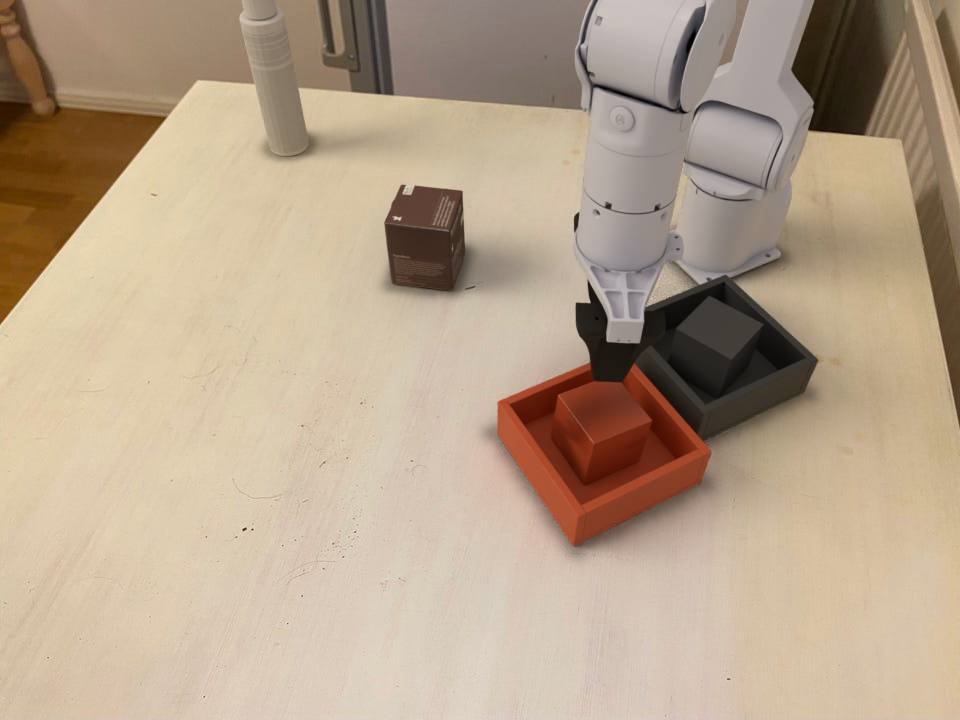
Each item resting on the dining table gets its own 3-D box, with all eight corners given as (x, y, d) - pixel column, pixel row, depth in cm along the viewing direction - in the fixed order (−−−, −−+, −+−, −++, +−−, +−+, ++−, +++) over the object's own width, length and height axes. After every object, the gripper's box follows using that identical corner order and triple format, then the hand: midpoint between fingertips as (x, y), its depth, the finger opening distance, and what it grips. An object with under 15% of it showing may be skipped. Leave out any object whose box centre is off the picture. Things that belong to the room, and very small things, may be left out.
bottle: (312, 135, 93) (278, -46, 78) (303, 157, 90) (266, -27, 75) (275, 133, 93) (234, -48, 78) (265, 155, 90) (220, -28, 75)
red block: (550, 436, 63) (557, 394, 60) (604, 415, 65) (614, 373, 61) (584, 484, 60) (594, 443, 57) (639, 461, 62) (652, 420, 58)
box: (452, 293, 75) (449, 231, 70) (389, 285, 76) (382, 223, 71) (466, 251, 79) (464, 189, 74) (406, 243, 80) (400, 182, 75)
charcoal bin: (716, 307, 74) (726, 273, 71) (804, 392, 67) (819, 359, 64) (611, 351, 70) (617, 318, 67) (693, 446, 64) (703, 413, 61)
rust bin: (615, 381, 68) (621, 348, 65) (701, 482, 61) (712, 451, 58) (496, 433, 65) (497, 401, 62) (573, 547, 58) (578, 517, 55)
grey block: (697, 337, 71) (709, 295, 67) (748, 365, 68) (763, 324, 65) (665, 369, 68) (676, 328, 64) (718, 400, 66) (731, 359, 62)
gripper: (711, 267, 44) (669, 419, 54) (684, 120, 54) (653, 273, 64) (581, 263, 45) (564, 414, 55) (577, 117, 54) (563, 269, 64)
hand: (605, 338), depth 59 cm, fingers open, 7 cm apart
